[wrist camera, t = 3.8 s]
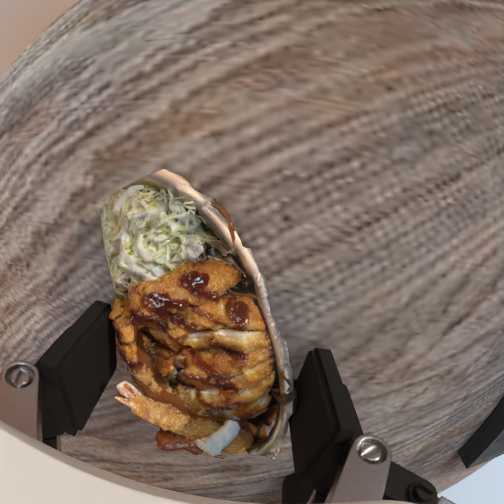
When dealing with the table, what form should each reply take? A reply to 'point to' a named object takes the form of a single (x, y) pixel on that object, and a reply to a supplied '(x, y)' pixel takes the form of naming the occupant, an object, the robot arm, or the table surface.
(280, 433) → the taco
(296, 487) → the drinking cup
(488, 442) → the serving tray
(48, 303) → the table surface
